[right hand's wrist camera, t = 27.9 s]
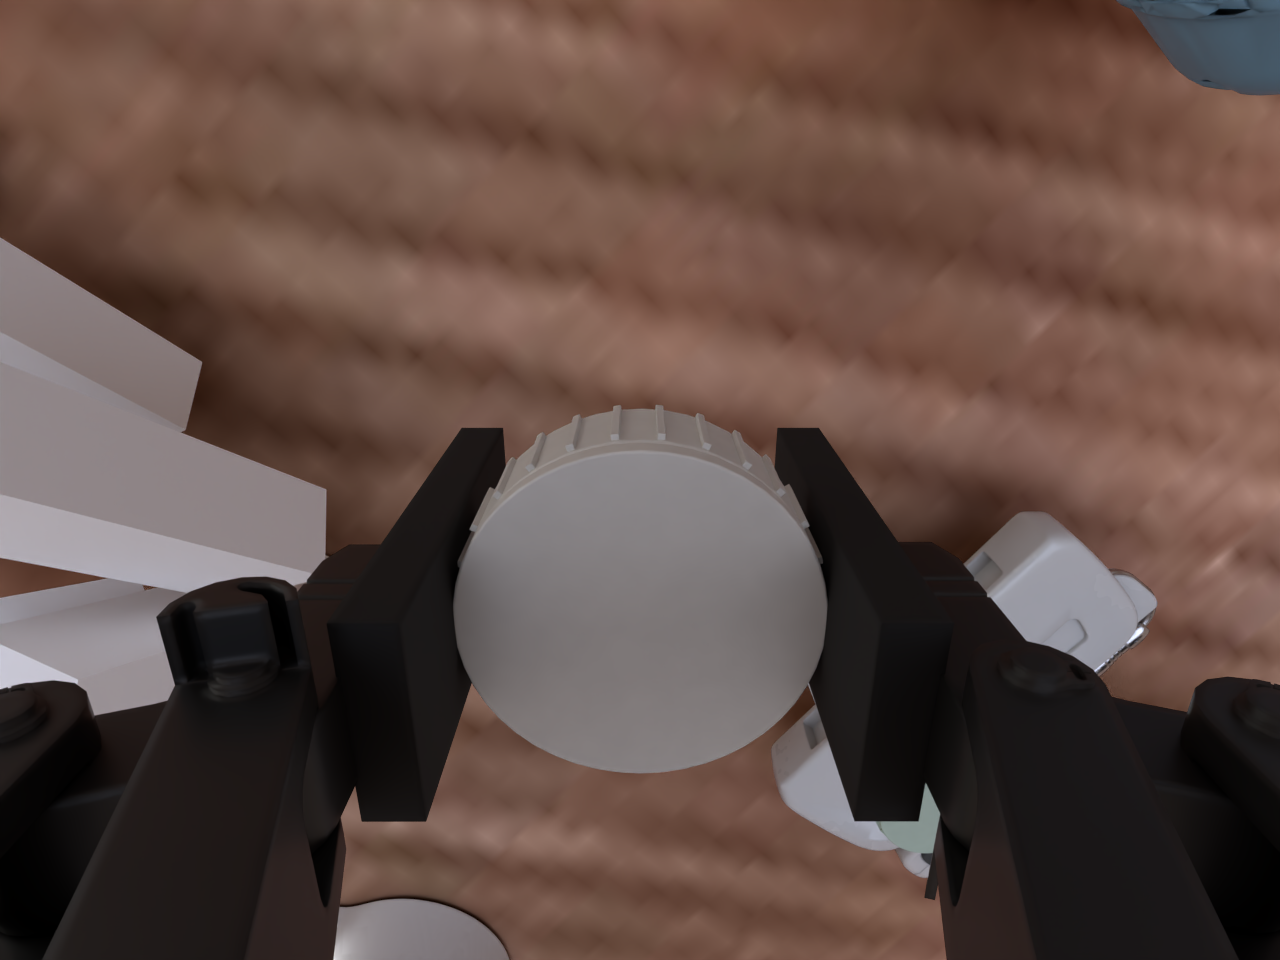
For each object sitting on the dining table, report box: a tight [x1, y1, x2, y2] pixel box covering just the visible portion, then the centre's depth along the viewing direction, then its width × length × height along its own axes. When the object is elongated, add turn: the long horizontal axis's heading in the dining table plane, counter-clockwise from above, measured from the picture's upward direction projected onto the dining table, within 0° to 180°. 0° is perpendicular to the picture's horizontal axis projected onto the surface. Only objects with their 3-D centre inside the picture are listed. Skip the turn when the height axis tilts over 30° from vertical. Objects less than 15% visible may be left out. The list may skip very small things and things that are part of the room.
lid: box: [453, 405, 828, 773], centre depth 11 cm, size 5×5×2 cm
